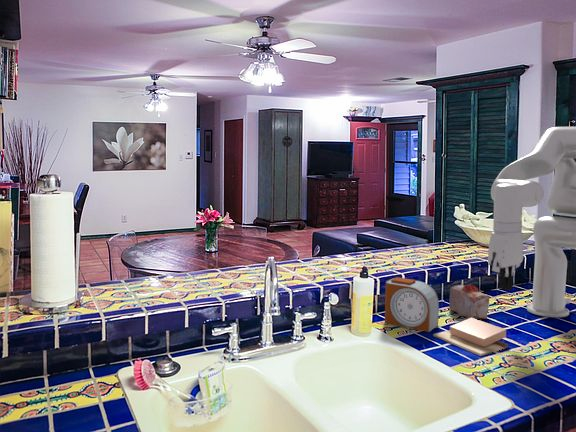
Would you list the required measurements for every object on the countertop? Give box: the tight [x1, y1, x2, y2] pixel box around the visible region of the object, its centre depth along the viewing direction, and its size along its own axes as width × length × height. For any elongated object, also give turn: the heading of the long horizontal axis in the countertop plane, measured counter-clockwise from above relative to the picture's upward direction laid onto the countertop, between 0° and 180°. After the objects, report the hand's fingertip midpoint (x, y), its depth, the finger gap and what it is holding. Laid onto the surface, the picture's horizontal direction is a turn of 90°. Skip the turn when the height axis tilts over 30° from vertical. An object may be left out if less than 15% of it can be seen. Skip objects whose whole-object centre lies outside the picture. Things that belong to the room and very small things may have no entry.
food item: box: [448, 284, 490, 320], centre depth 176 cm, size 14×8×10 cm, turn 21°
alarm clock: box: [384, 276, 440, 333], centre depth 167 cm, size 15×8×14 cm, turn 55°
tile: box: [449, 318, 507, 347], centre depth 154 cm, size 2×12×9 cm
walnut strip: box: [494, 340, 509, 350], centre depth 155 cm, size 1×17×1 cm, turn 30°
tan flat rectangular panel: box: [432, 329, 505, 357], centre depth 152 cm, size 9×17×1 cm, turn 30°
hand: (505, 288), depth 158 cm, fingers closed
